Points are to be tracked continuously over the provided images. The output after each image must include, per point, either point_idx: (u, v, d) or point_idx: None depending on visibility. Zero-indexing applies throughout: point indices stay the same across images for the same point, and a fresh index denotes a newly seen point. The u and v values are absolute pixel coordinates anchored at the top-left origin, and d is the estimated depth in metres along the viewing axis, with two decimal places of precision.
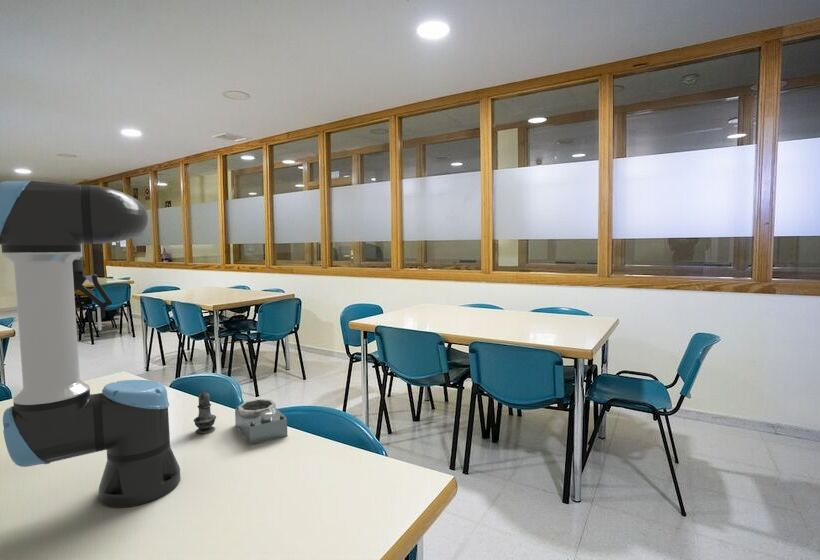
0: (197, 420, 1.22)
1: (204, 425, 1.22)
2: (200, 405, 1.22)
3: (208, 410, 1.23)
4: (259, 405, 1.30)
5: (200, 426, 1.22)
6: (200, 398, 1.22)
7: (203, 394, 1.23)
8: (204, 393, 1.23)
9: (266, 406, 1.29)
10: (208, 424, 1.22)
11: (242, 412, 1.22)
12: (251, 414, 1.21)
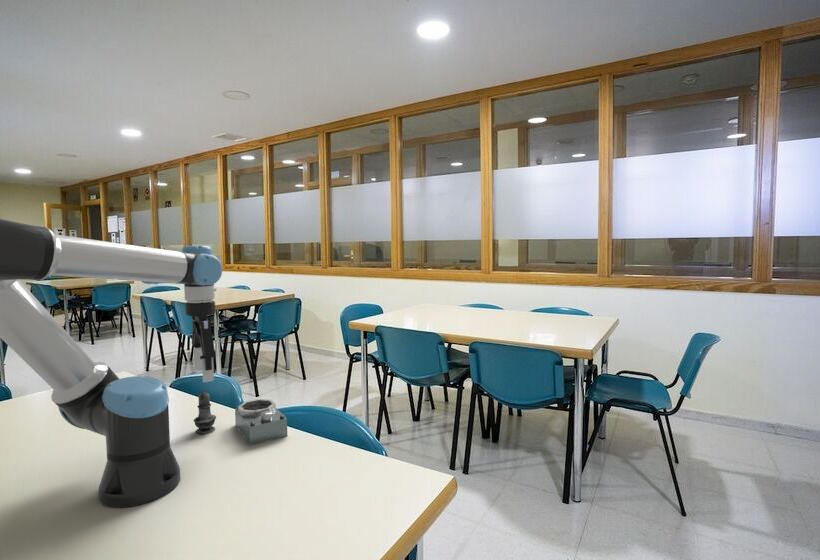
0: (197, 420, 1.22)
1: (204, 425, 1.22)
2: (200, 405, 1.22)
3: (208, 410, 1.23)
4: (259, 405, 1.30)
5: (200, 426, 1.22)
6: (200, 398, 1.22)
7: (203, 394, 1.23)
8: (204, 393, 1.23)
9: (266, 406, 1.29)
10: (208, 424, 1.22)
11: (242, 412, 1.22)
12: (251, 414, 1.21)
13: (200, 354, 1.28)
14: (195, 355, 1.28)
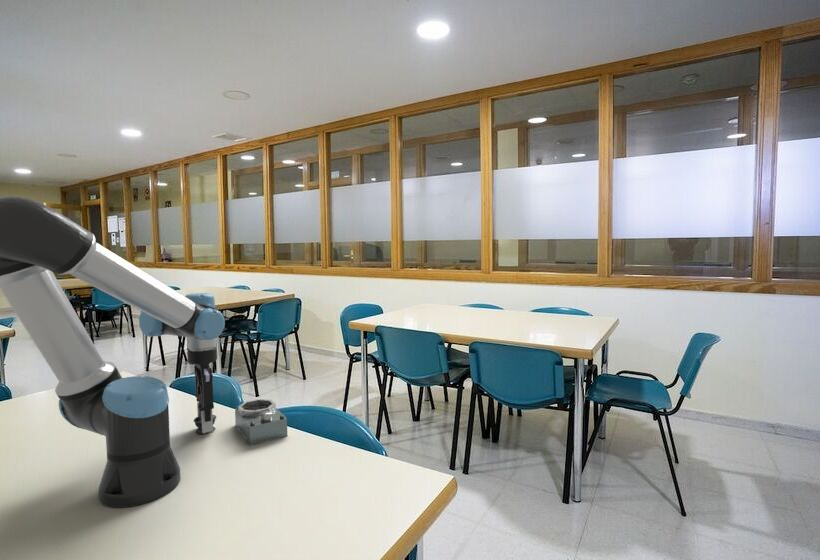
0: (197, 420, 1.22)
1: None
2: (200, 405, 1.22)
3: None
4: (259, 405, 1.30)
5: (200, 426, 1.22)
6: (200, 398, 1.22)
7: None
8: None
9: (266, 406, 1.29)
10: None
11: (242, 412, 1.22)
12: (251, 414, 1.21)
13: None
14: (199, 410, 1.26)
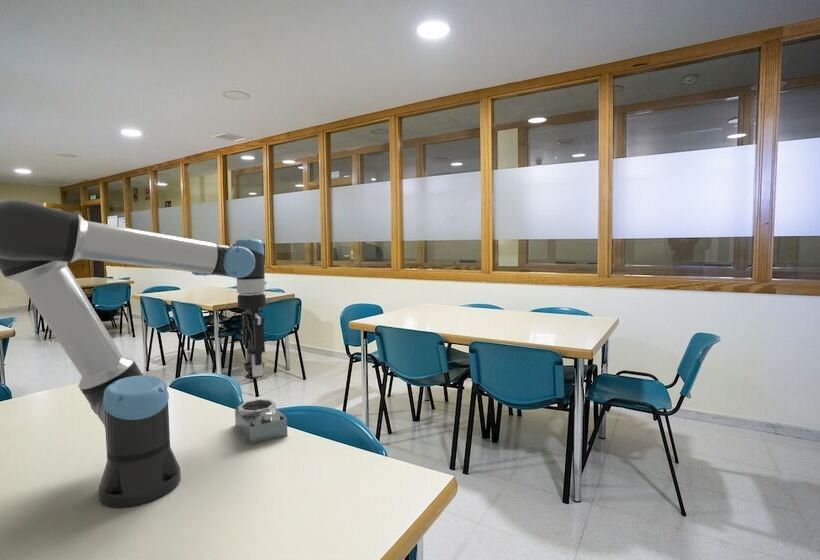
0: (247, 364, 1.23)
1: None
2: (250, 350, 1.24)
3: None
4: (259, 405, 1.30)
5: (250, 370, 1.23)
6: (250, 343, 1.24)
7: None
8: None
9: (266, 406, 1.29)
10: None
11: (242, 412, 1.22)
12: (251, 414, 1.21)
13: None
14: (247, 356, 1.27)
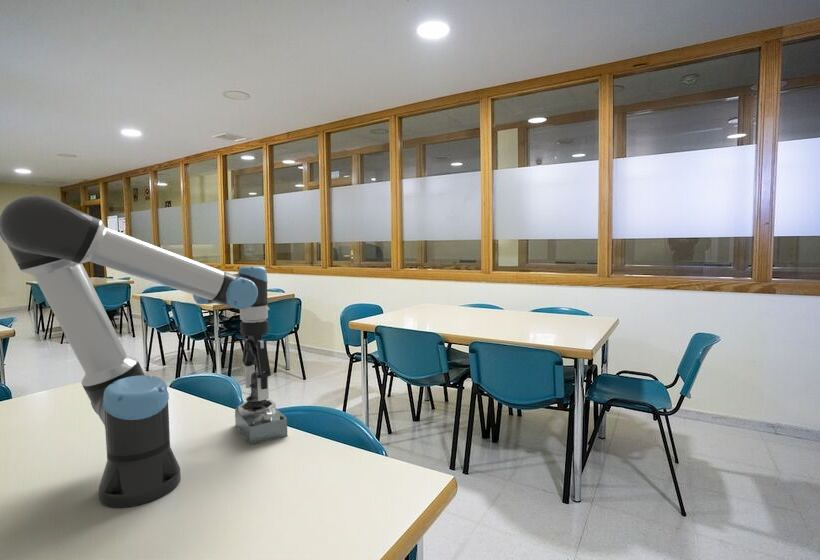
0: (250, 399, 1.24)
1: (257, 404, 1.24)
2: (253, 384, 1.24)
3: None
4: None
5: (253, 405, 1.24)
6: (253, 377, 1.24)
7: (255, 373, 1.25)
8: (256, 372, 1.25)
9: (266, 406, 1.29)
10: (260, 403, 1.24)
11: (242, 412, 1.22)
12: (251, 414, 1.21)
13: (251, 372, 1.31)
14: (247, 373, 1.30)
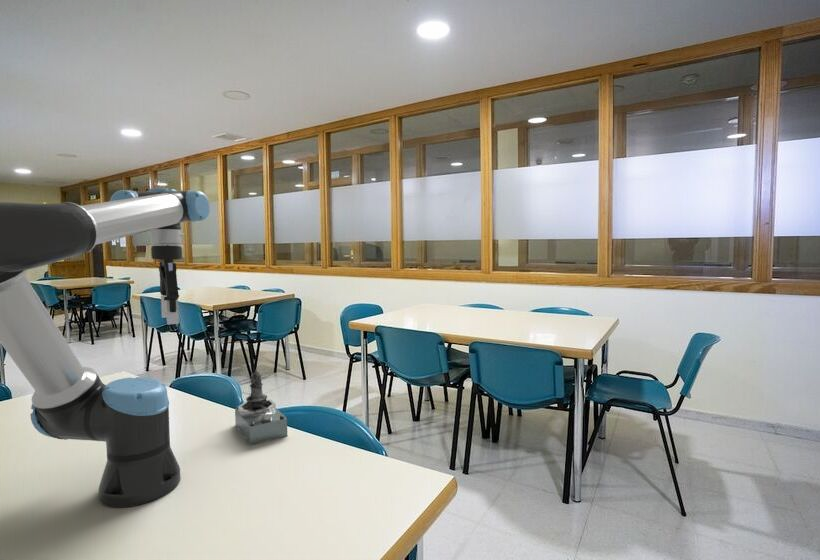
0: (250, 399, 1.24)
1: (257, 404, 1.24)
2: (253, 384, 1.24)
3: (260, 389, 1.25)
4: None
5: (253, 405, 1.24)
6: (253, 377, 1.24)
7: (255, 373, 1.25)
8: (256, 372, 1.25)
9: (266, 406, 1.29)
10: (260, 403, 1.24)
11: (242, 412, 1.22)
12: (251, 414, 1.21)
13: None
14: (162, 302, 1.27)
